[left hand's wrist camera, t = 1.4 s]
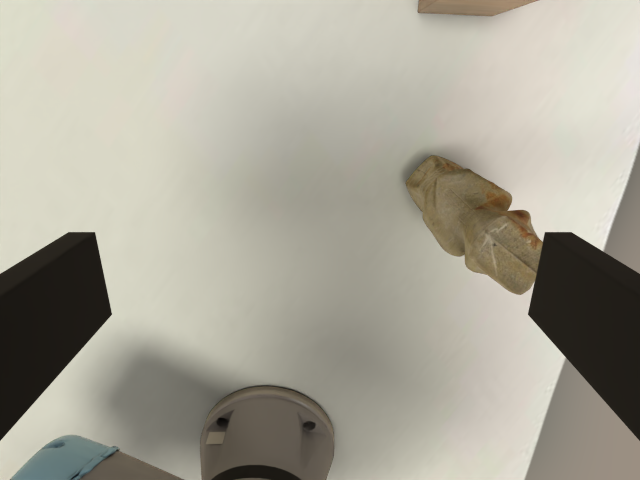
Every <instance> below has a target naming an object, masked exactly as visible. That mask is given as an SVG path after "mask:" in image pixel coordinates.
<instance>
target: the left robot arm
mask: <svg viewBox="0 0 640 480" xmlns="http://www.w3.org/2000/svg"><path fill="white" fill-rule="evenodd" d="M111 315H112V313H111V308H110V303H109V298H108V293H107V288H106V284H105V279H104V274H103V269H102V264H101V259H100V254H99V250H98V245H97V240H96V235H95V232H68V233H67V234H65V235H63V236H62V237H60V238H59V239H57V240H55V241H54V242H52V243H50V244H49V245H47V246H45V247H44V248H42V249H40V250H39V251H37V252H36V253H34V254H32V255H31V256H29V257H27V258H26V259H24V260H22V261H21V262H19V263H17V264H16V265H14V266H13V267H11V268H9V269H8V270H6V271H4V272H3V273H1V274H0V440H1V439H2V438H3V437H4V436H5V435H6V434H7V433H8V431H9V430H10V429H11V428H12V427H13V426H14V425H15V423H16V422H17V421H18V420H19V419H20V418H21V417H22V416H23V414H24V413H25V412H26V411H27V410H28V409H29V408H30V407H31V405H32V404H33V403H34V402H35V401H36V400H37V399H38V397H39V396H40V395H41V394H42V393H43V392H44V391H45V390H46V388H47V387H48V386H49V385H50V384H51V383H52V382H53V381H54V379H55V378H56V377H57V376H58V375H59V374H60V373H61V371H62V370H63V369H64V368H65V367H66V366H67V365H68V364H69V362H70V361H71V360H72V359H73V358H74V357H75V356H76V354H77V353H78V352H79V351H80V350H81V349H82V348H83V347H84V345H85V344H86V343H87V342H88V341H89V340H90V339H91V338H92V336H93V335H94V334H95V333H96V332H97V331H98V330H99V328H100V327H101V326H102V325H103V324H104V323H105V322H106V321H107V319H108V318H109V317H110V316H111ZM528 315H529V316H530V317H531V318H532V319H533V321H534V322H535V323H536V324H537V325H538V326H539V327H540V328H541V330H542V331H543V332H544V333H545V334H546V335H547V336H548V338H549V339H550V340H551V341H552V342H553V343H554V344H555V345H556V347H557V348H558V349H559V350H560V351H561V352H562V353H563V355H564V356H565V357H566V358H567V359H568V360H569V361H570V362H571V363H572V365H573V366H574V367H575V368H576V369H577V370H578V371H579V373H580V374H581V375H582V376H583V377H584V378H585V379H586V381H587V382H588V383H589V384H590V385H591V386H592V387H593V388H594V390H595V391H596V392H597V393H598V394H599V395H600V396H601V397H602V399H603V400H604V401H605V402H606V403H607V404H608V405H609V406H610V408H611V409H612V410H613V411H614V412H615V413H616V414H617V416H618V417H619V418H620V419H621V420H622V421H623V422H624V423H625V425H626V426H627V427H628V428H629V429H630V430H631V431H632V432H633V434H634V435H635V436H636V437H637V438H638V439H639V440H640V274H639V273H637V272H636V271H634V270H632V269H631V268H629V267H627V266H626V265H624V264H622V263H621V262H619V261H618V260H616V259H614V258H613V257H611V256H609V255H608V254H606V253H604V252H603V251H601V250H600V249H598V248H596V247H595V246H593V245H591V244H590V243H588V242H586V241H585V240H583V239H581V238H580V237H578V236H577V235H575V234H573V233H572V232H545V235H544V240H543V245H542V250H541V254H540V259H539V264H538V269H537V274H536V279H535V284H534V288H533V293H532V298H531V303H530V308H529V313H528ZM119 450H120V449H119V448H118V447H116V446H113V447H108V446H105V445H102V444H99V443H97V442H94V441H91V440H89V439H86V438H83V437H81V436H77V435H67V436H62V437H60V438H57V439H55V440H53V441H51V442H50V443H48V444H47V445H45V446H44V447H43V448H42V449H41V450H39V451H38V452H37V453H36V454H35V455H34V456H33V457H32V458H31V459H30V460H29V461H28V462H27V463H26V464H25V465H24V466H23V467H22V468H21V469H20V470H19V471H18V472H17V473H16V474H15V475H14V476H13V477H12V478H11V479H10V480H184V479H181V478H179V477H177V476H174V475H172V474H170V473H168V472H165V471H163V470H161V469H159V468H156V467H154V466H152V465H149V464H147V463H145V462H143V461H140V460H138V459H136V458H134V457H131V456H129V455H127V454H124V453H122V452H120V451H119ZM200 456H201V475H202V480H326V478H327V475H328V473H329V470H330V467H331V464H332V460H333V456H334V434H333V428H332V425H331V422H330V420H329V418H328V417H327V415H326V414H325V412H324V411H323V410H322V409H321V408H320V407H319V406H318V405H317V404H316V403H315V402H313V401H312V400H310V399H309V398H307V397H306V396H304V395H302V394H300V393H297V392H295V391H292V390H288V389H284V388H279V387H269V386H261V387H252V388H247V389H243V390H240V391H237V392H235V393H232V394H230V395H229V396H227V397H225V398H224V399H222V400H221V401H220V402H219V403H217V404H216V406H215V407H214V408H213V409H212V410H211V412H210V413H209V415H208V417H207V420H206V422H205V425H204V428H203V431H202V435H201V440H200Z"/></svg>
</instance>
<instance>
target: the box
mask: <svg viewBox="0 0 640 480" xmlns="http://www.w3.org/2000/svg"><path fill="white" fill-rule="evenodd" d="M535 1H538V0H419V6H418V13H434V14H456V15H478V16H494V15H497V14H500V13H503V12H506V11H509V10H512V9H515V8H518V7H520V6H523V5H526V4H529V3H532V2H535Z"/></svg>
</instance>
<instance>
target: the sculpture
mask: <svg viewBox="0 0 640 480" xmlns="http://www.w3.org/2000/svg"><path fill="white" fill-rule="evenodd" d="M406 186H407V189H408V191H409V193H410V195H411V197H412V199H413V200H414V202H415V203H416V205H417V206H418V207H419V208H420V210H421V211H422V212H423V220H424V222H425V224H426V225H427V227H428V228H429V229H430V231H431V232H432V233H433V235H434V237H435V238H436V240H437V241H438V243H439V244H440V246H441V247H442V248H443V249H444V250H445V251H446V252H448V253H449V254H451V255H454V256H462V255H465V264H466V267H467V268H468V269H470V270H471V271H473V272H477V273H482V274H486V275H488V276H490V277H491V278H492V279H494V280H495V281H496V282H498V283H499V284H500V285H501V286H503V287H504V288H505V289H507V290H508V291H510V292H512V293H515V294H518V295H521V294H523V293H525V292H526V291H528V290H529V289H530V288H531V286H532V285H533V283H534V282H535V279H536V274H537V269H538V264H539V259H540V254H541V250H542V245H543V242H542V241H541V240H540V239H539V238H538V237H537V235H536V233H535V231H534V229H533V227H532V224H531V217H530V214H529V212H527V211H525V210H514V211H507V210H508V209H509V207H510V205H511V203H512V196H511V194H510V193H508V192H507V191H505V190H503V189H502V188H500V187H498V186H497V185H495V184H494V183H493V182H490V181H488V180H486V179H485V178H483V177H481V176H479V175H478V174H476V173H474V172H473V171H471V170H470V169H463V168H462V167H461V166H459V165H457V164H455V163H453V162H451V161H449V160H447V159H445V158H442V157H438V156H430V157H429V158H427V159H426V160H425V161H424V162H423V163H422V164H421V165H420V166H419V167H418V168H417V169H416V170H415V171H414V172H413V174H412V175H411V176H410V177H409V179H408V180H407V181H406Z"/></svg>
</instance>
